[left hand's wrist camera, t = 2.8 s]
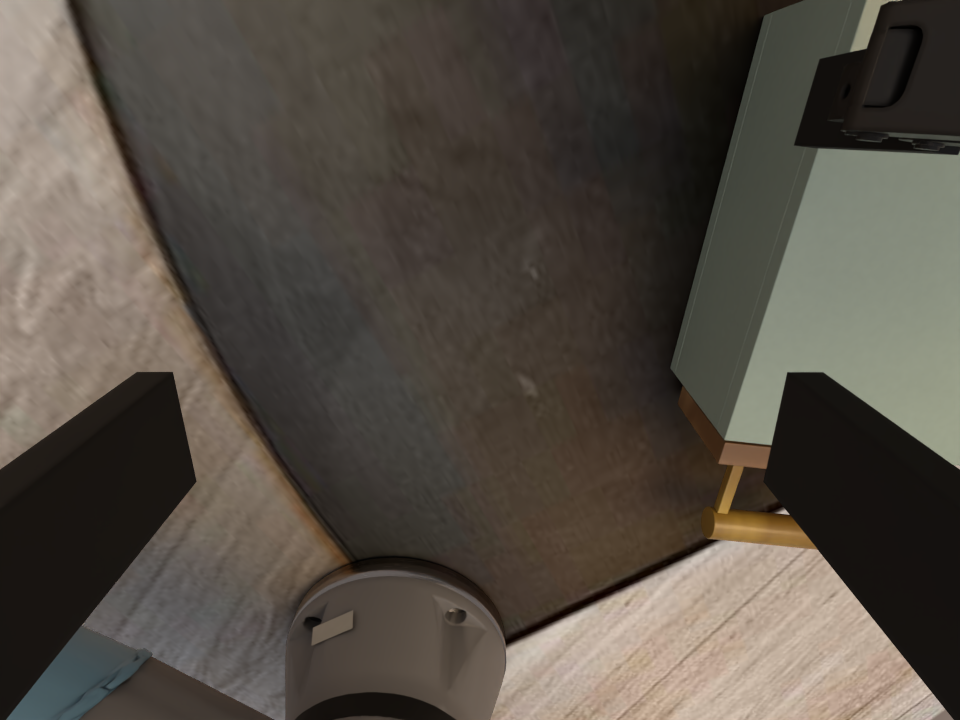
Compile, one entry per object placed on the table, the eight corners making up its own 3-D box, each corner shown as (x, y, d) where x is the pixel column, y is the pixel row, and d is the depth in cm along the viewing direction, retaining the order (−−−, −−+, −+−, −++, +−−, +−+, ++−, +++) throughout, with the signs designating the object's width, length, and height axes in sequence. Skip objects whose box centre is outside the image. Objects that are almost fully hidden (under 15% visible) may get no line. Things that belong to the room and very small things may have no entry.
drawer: (811, 509, 36) (874, 583, 30) (652, 492, 36) (685, 565, 30) (973, 114, 27) (1106, 112, 22) (765, 86, 27) (843, 77, 21)
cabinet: (858, 389, 34) (965, 466, 26) (669, 368, 33) (723, 440, 26) (998, 47, 27) (1197, 18, 20) (763, 14, 27) (875, -28, 19)
